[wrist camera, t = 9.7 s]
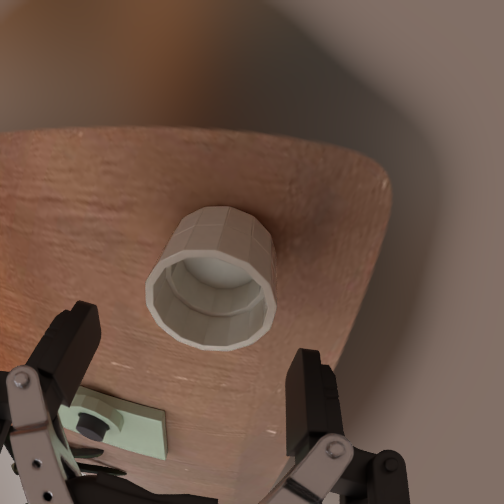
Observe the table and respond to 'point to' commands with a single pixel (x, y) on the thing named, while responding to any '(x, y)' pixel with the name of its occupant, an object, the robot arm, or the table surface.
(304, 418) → the robot arm
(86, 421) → the button
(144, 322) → the table surface
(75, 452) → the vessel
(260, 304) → the cup
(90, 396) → the green knob plate
